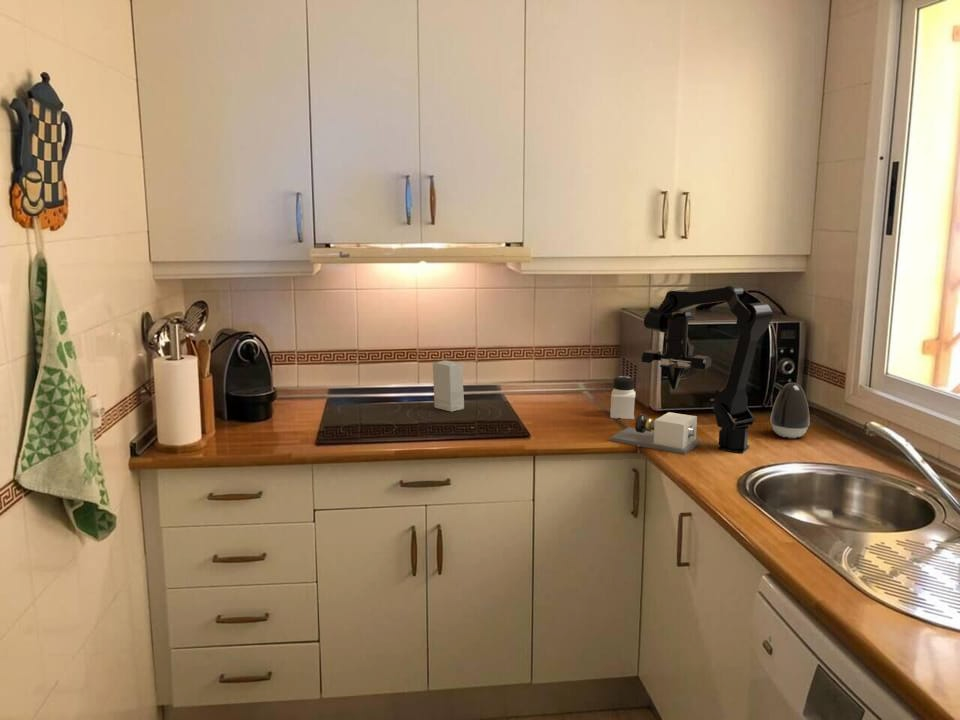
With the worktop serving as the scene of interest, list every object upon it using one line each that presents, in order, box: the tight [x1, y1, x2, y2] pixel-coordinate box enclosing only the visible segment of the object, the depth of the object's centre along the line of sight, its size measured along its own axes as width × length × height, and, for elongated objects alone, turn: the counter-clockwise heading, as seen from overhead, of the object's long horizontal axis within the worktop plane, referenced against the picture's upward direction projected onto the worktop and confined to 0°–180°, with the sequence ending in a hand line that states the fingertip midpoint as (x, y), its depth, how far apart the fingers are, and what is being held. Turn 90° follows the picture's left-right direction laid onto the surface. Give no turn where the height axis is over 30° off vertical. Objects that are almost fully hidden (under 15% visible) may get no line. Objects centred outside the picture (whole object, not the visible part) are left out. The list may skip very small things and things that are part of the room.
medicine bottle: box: [609, 376, 636, 420], centre depth 243 cm, size 7×7×12 cm
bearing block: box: [609, 411, 701, 455], centre depth 217 cm, size 21×12×8 cm, turn 56°
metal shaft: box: [634, 413, 695, 437], centre depth 216 cm, size 16×5×5 cm, turn 56°
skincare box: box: [432, 360, 465, 412], centre depth 251 cm, size 8×6×15 cm
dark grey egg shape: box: [770, 382, 811, 439], centre depth 223 cm, size 10×10×15 cm
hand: (674, 389), depth 228 cm, fingers closed
